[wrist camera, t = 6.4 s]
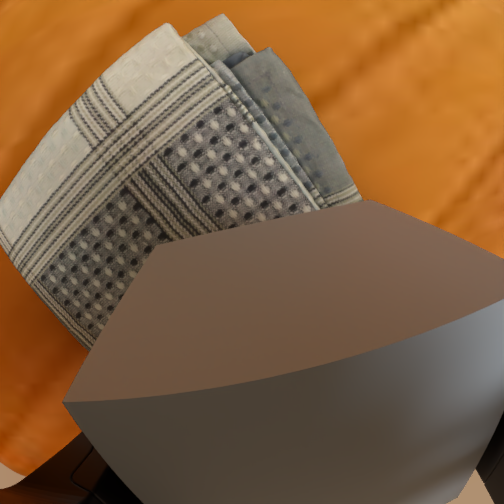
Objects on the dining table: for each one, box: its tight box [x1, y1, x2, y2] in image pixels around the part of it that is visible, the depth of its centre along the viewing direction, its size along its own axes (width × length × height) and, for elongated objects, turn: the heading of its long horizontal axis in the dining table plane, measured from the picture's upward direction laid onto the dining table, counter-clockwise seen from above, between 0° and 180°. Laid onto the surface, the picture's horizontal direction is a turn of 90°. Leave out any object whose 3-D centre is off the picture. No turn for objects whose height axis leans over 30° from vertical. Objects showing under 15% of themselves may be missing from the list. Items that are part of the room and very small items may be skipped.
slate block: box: [62, 200, 504, 504], centre depth 7 cm, size 6×6×6 cm
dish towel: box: [0, 13, 364, 352], centre depth 16 cm, size 19×18×3 cm
